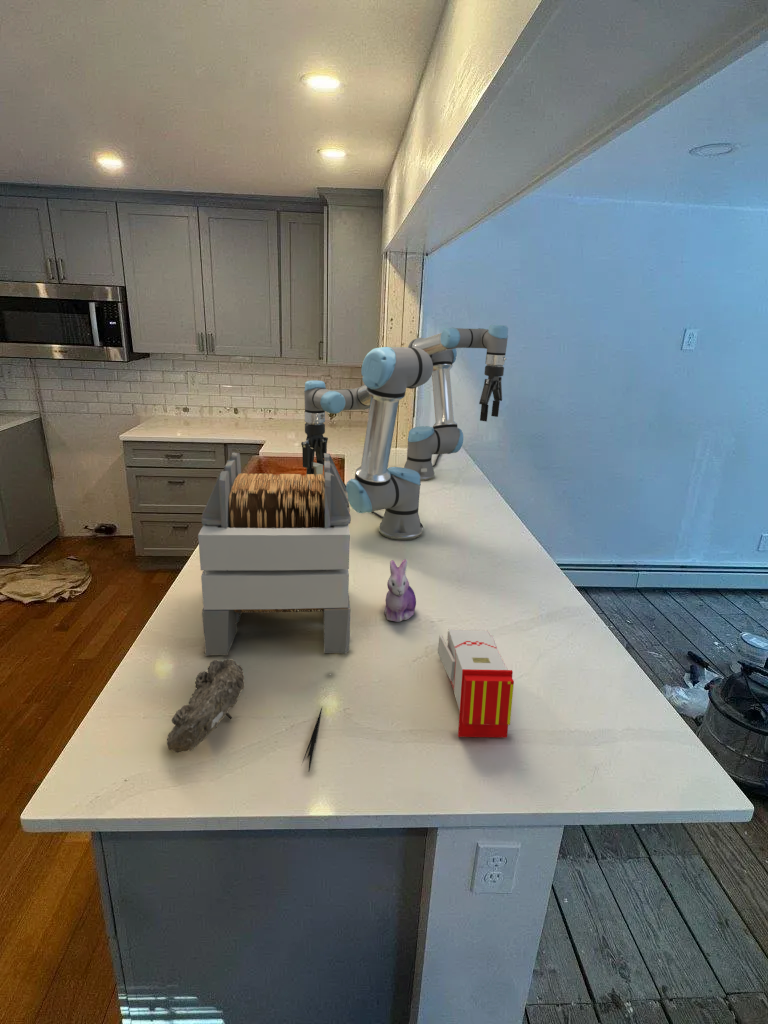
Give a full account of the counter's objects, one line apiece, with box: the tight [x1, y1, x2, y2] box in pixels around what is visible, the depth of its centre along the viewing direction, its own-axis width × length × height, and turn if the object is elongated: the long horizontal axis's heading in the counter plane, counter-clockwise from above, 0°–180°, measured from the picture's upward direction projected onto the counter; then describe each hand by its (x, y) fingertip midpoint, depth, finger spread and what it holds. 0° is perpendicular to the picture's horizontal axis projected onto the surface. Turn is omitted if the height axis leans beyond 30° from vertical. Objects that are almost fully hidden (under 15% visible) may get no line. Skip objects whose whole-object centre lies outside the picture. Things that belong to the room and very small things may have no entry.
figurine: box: [384, 558, 417, 623], centre depth 145 cm, size 9×10×15 cm
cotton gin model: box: [197, 451, 352, 657], centre depth 136 cm, size 34×33×41 cm
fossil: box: [166, 658, 245, 754], centre depth 106 cm, size 22×10×15 cm
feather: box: [301, 673, 332, 771], centre depth 108 cm, size 2×28×2 cm
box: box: [305, 461, 324, 478], centre depth 219 cm, size 5×4×11 cm
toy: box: [437, 628, 515, 738], centre depth 117 cm, size 12×13×30 cm
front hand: (314, 482), depth 219 cm, fingers closed on box, 4 cm apart
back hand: (489, 418), depth 233 cm, fingers open, 13 cm apart
